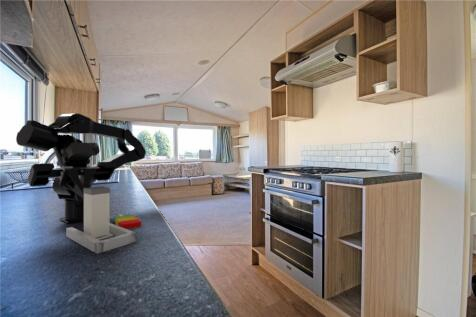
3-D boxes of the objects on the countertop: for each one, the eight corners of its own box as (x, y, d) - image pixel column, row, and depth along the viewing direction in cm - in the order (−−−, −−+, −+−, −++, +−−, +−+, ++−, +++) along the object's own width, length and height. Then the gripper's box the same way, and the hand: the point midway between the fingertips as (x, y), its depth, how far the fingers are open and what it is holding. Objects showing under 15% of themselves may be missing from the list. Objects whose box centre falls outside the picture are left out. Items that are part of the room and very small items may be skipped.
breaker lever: (83, 235, 55) (83, 188, 55) (101, 230, 59) (101, 186, 59) (91, 238, 53) (91, 189, 53) (109, 234, 56) (109, 187, 56)
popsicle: (120, 231, 61) (120, 224, 61) (110, 218, 73) (110, 212, 73) (142, 228, 65) (142, 221, 65) (129, 216, 76) (129, 210, 76)
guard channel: (66, 236, 56) (66, 228, 56) (103, 227, 63) (103, 220, 63) (97, 253, 47) (97, 243, 47) (136, 241, 54) (136, 232, 53)
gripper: (31, 129, 54) (47, 180, 48) (112, 134, 70) (133, 173, 63) (22, 161, 59) (36, 212, 53) (100, 160, 74) (118, 199, 68)
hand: (86, 197), depth 59 cm, fingers closed
